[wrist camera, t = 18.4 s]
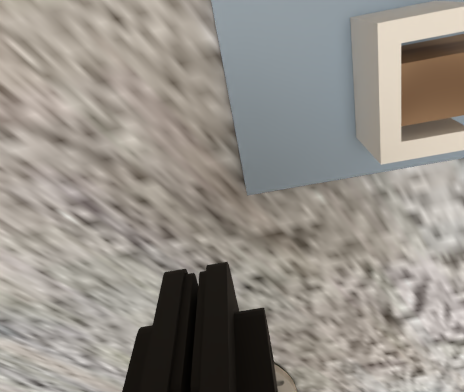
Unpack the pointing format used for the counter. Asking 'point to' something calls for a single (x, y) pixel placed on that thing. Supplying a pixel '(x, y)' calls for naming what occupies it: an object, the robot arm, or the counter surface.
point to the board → (299, 90)
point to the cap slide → (398, 81)
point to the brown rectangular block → (432, 80)
